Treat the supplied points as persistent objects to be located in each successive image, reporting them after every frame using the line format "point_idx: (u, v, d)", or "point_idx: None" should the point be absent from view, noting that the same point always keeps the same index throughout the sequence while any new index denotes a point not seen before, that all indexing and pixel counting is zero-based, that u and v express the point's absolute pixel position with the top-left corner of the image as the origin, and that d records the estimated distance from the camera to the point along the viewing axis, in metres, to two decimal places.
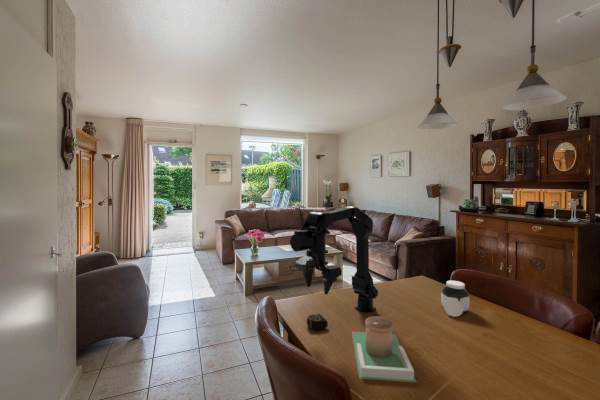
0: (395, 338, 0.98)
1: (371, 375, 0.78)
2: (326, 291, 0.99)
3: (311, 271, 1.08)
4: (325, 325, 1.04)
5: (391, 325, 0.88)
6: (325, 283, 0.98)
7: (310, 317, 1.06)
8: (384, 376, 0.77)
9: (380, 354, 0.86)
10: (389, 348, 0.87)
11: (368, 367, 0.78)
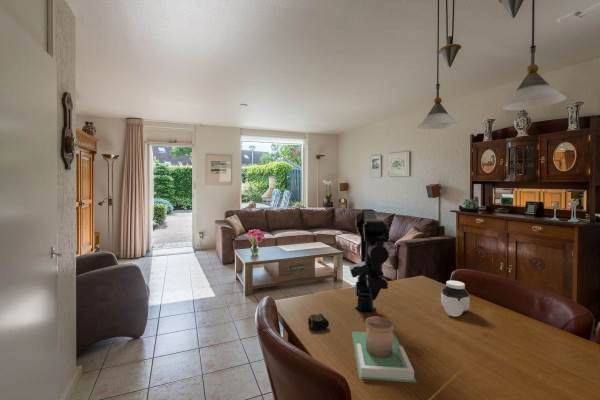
0: (395, 338, 0.98)
1: (371, 375, 0.78)
2: (372, 297, 1.01)
3: None
4: (326, 325, 1.04)
5: (391, 325, 0.88)
6: (370, 288, 1.00)
7: (311, 317, 1.06)
8: (384, 376, 0.77)
9: (380, 354, 0.86)
10: (389, 348, 0.87)
11: (368, 367, 0.78)
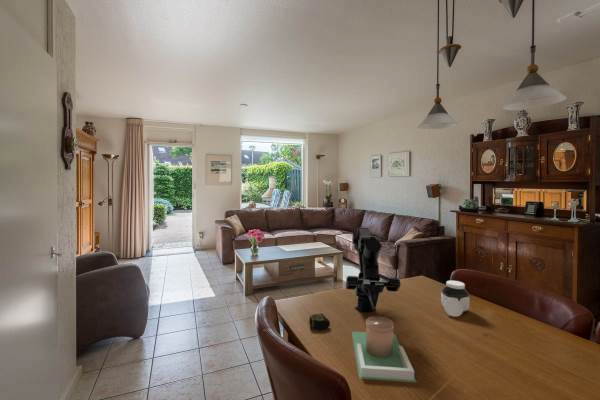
0: (395, 338, 0.98)
1: (371, 375, 0.78)
2: (372, 303, 1.00)
3: (375, 290, 1.01)
4: (327, 324, 1.04)
5: (392, 325, 0.88)
6: None
7: (312, 316, 1.07)
8: (384, 376, 0.77)
9: (381, 354, 0.86)
10: (390, 348, 0.87)
11: (368, 367, 0.78)
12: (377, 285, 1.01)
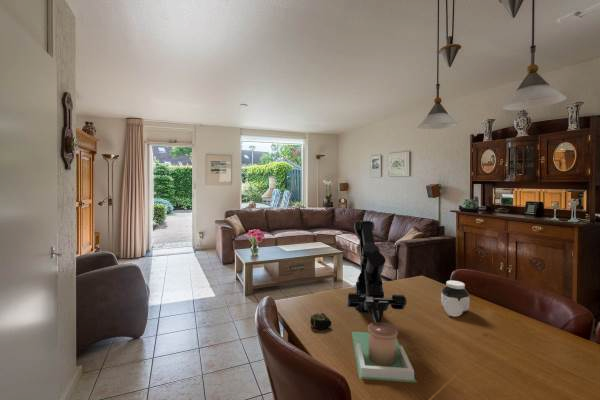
0: None
1: (371, 375, 0.78)
2: None
3: (379, 308, 0.93)
4: (329, 324, 1.04)
5: (395, 332, 0.84)
6: None
7: (314, 316, 1.07)
8: (384, 376, 0.77)
9: (384, 362, 0.82)
10: (393, 356, 0.83)
11: (368, 367, 0.78)
12: (381, 303, 0.93)
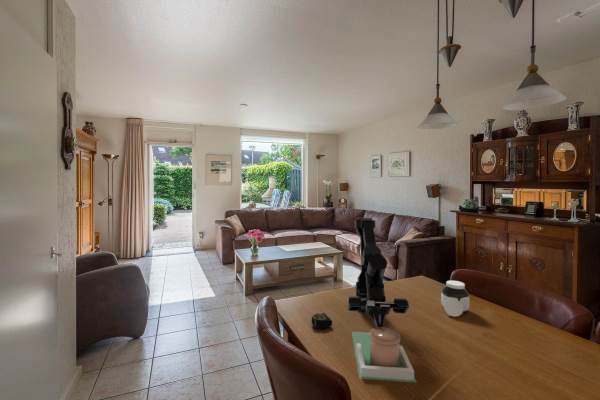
0: None
1: (371, 375, 0.78)
2: None
3: (380, 312, 0.90)
4: (330, 324, 1.05)
5: (398, 338, 0.81)
6: None
7: (315, 316, 1.07)
8: (384, 376, 0.77)
9: None
10: (396, 363, 0.80)
11: (368, 367, 0.78)
12: (383, 307, 0.90)
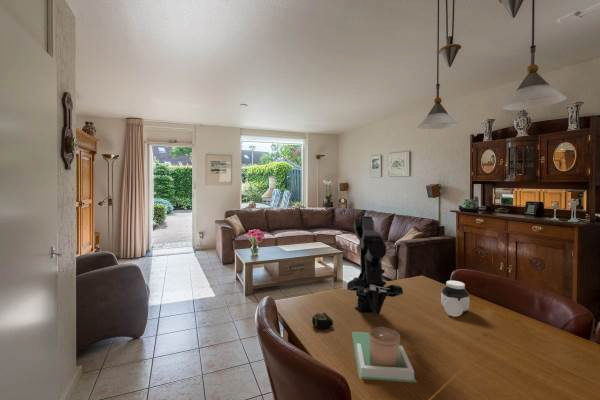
0: None
1: (371, 375, 0.78)
2: (374, 310, 0.94)
3: (380, 297, 0.95)
4: (330, 324, 1.05)
5: (398, 338, 0.81)
6: None
7: (315, 316, 1.07)
8: (384, 376, 0.77)
9: None
10: (396, 363, 0.80)
11: (368, 367, 0.78)
12: (383, 293, 0.95)
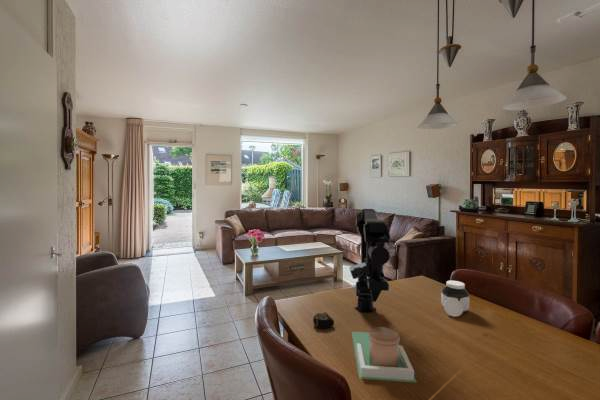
0: None
1: (371, 375, 0.78)
2: (373, 298, 0.99)
3: None
4: (331, 324, 1.05)
5: (397, 338, 0.81)
6: (370, 290, 0.99)
7: (316, 316, 1.07)
8: (384, 376, 0.77)
9: None
10: (395, 363, 0.80)
11: (368, 367, 0.78)
12: None
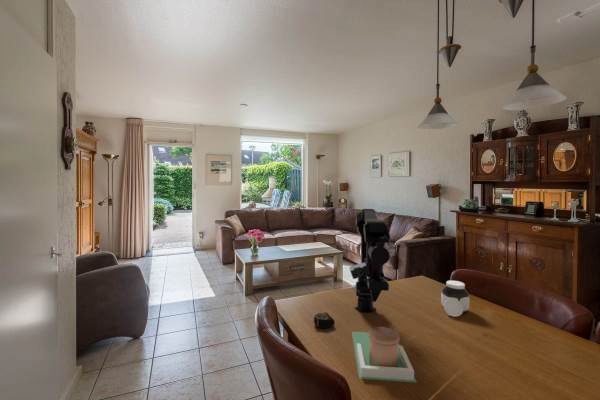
0: None
1: (371, 375, 0.78)
2: (373, 298, 0.99)
3: None
4: (332, 323, 1.05)
5: (397, 338, 0.81)
6: (370, 290, 0.99)
7: (317, 316, 1.07)
8: (384, 376, 0.77)
9: None
10: (395, 363, 0.80)
11: (368, 367, 0.78)
12: None
